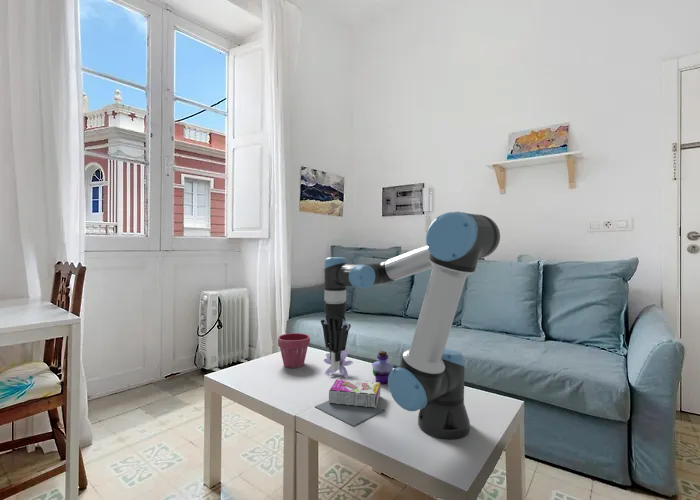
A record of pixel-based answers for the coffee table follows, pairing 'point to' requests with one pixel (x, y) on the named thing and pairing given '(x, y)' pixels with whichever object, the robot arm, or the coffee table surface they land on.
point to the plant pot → (293, 349)
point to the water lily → (342, 364)
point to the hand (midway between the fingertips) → (335, 369)
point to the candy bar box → (355, 393)
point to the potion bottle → (382, 368)
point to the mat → (349, 412)
